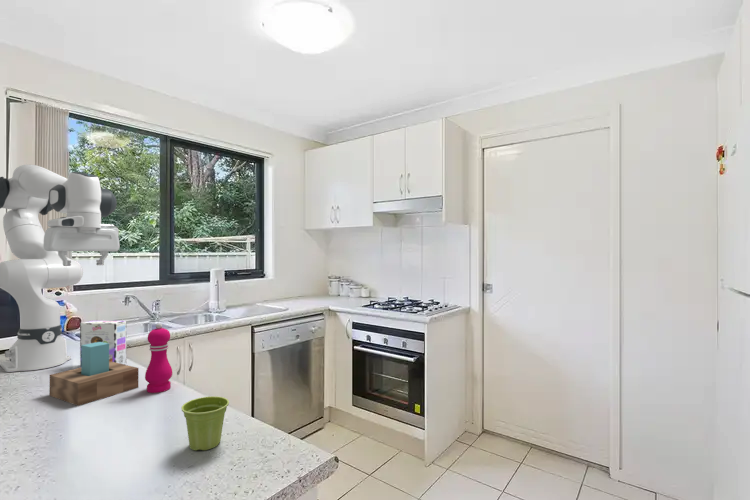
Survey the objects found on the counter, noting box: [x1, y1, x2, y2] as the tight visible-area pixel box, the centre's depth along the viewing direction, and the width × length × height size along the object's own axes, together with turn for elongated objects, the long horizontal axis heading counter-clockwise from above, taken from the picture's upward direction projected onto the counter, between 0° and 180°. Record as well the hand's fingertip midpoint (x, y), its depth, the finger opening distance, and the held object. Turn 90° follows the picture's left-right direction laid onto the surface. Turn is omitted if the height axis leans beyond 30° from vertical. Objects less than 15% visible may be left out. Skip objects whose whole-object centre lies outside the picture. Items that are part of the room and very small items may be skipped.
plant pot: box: [181, 395, 230, 451], centre depth 83 cm, size 9×9×9 cm
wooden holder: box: [48, 361, 139, 407], centre depth 115 cm, size 16×16×6 cm
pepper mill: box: [144, 322, 173, 394], centre depth 117 cm, size 7×7×20 cm
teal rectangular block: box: [81, 342, 109, 376], centre depth 115 cm, size 5×5×14 cm
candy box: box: [79, 320, 127, 368], centre depth 140 cm, size 14×6×16 cm, turn 84°
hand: (84, 265), depth 124 cm, fingers open, 8 cm apart
